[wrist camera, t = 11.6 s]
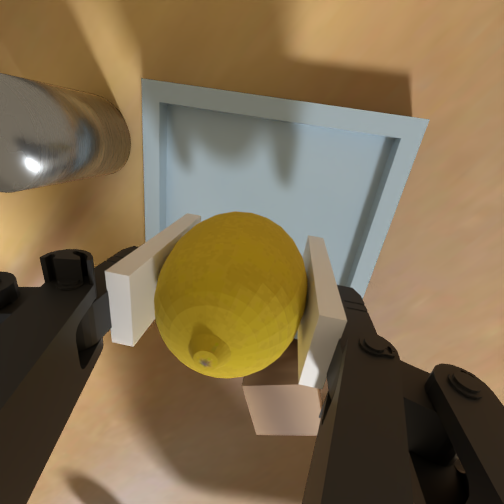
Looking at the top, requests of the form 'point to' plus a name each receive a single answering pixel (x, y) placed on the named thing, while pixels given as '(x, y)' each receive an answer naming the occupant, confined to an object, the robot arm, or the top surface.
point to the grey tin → (56, 135)
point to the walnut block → (282, 398)
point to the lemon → (231, 295)
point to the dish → (278, 167)
